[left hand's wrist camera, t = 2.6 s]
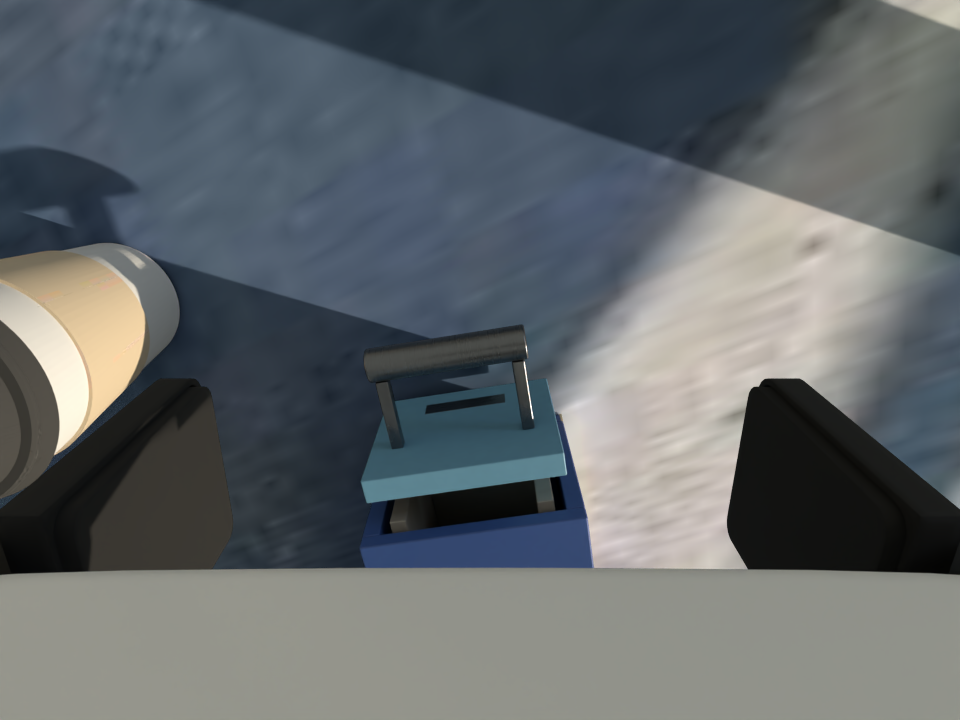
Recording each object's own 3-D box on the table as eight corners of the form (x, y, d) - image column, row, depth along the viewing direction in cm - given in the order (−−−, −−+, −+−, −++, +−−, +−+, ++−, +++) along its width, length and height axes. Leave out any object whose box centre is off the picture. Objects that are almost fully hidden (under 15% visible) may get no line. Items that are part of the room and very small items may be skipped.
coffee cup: (9, 317, 35) (-305, 451, 21) (76, 186, 32) (-231, 240, 18) (154, 406, 37) (-45, 582, 23) (229, 289, 34) (56, 409, 20)
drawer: (366, 317, 34) (331, 377, 26) (534, 290, 34) (549, 343, 26) (434, 591, 41) (422, 704, 33) (573, 573, 41) (595, 684, 33)
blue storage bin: (389, 439, 38) (358, 548, 28) (561, 413, 37) (587, 517, 28) (437, 629, 43) (424, 774, 34) (587, 610, 43) (617, 753, 33)
